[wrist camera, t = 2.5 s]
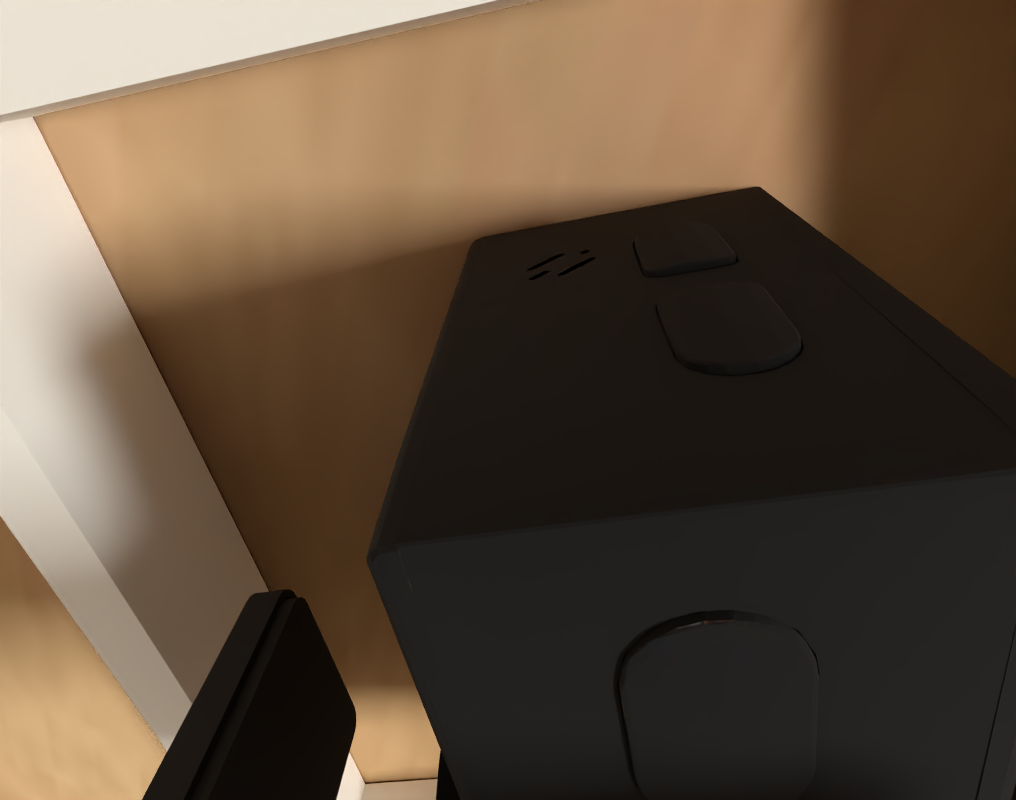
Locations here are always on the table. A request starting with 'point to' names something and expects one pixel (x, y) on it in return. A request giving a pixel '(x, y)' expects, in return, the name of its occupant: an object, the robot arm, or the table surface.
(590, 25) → the table surface
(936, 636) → the digital camera
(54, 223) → the open frame
